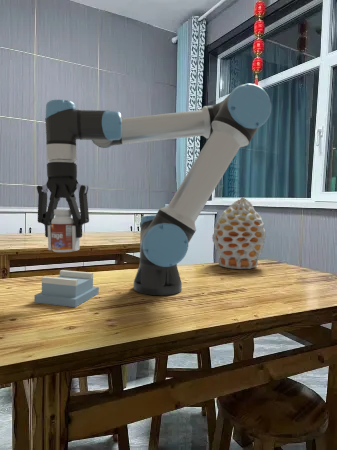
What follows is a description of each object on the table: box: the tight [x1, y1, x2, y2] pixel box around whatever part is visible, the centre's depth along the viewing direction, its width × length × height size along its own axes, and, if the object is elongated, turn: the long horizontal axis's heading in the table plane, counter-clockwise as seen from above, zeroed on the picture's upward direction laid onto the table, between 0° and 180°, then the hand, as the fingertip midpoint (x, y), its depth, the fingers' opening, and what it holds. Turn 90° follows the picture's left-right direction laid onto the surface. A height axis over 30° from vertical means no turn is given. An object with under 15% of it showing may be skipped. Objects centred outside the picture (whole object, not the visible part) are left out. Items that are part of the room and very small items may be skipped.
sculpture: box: [211, 197, 266, 270], centre depth 156 cm, size 21×22×30 cm
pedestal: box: [33, 269, 100, 308], centre depth 102 cm, size 12×14×6 cm
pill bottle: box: [51, 208, 75, 253], centre depth 97 cm, size 6×6×11 cm
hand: (64, 249), depth 97 cm, fingers closed on pill bottle, 6 cm apart
